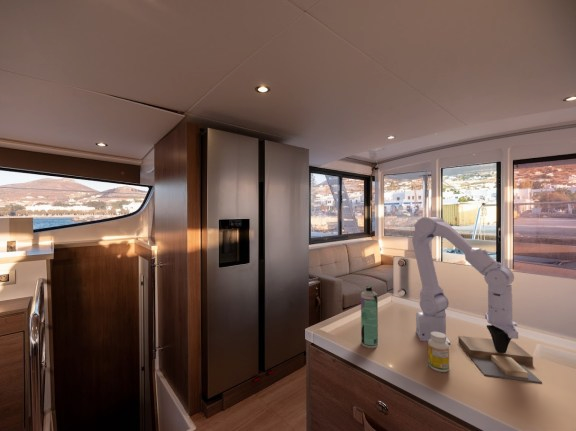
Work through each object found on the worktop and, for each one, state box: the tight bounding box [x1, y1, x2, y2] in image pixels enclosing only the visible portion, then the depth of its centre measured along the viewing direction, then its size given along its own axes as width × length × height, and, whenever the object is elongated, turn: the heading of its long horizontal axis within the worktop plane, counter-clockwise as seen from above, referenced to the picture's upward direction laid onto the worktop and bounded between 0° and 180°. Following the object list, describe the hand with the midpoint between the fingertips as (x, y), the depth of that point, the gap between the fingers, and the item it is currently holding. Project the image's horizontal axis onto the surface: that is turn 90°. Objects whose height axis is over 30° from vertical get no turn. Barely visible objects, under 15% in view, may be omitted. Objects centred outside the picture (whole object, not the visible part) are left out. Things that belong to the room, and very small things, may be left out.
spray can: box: [360, 285, 379, 349], centre depth 89 cm, size 6×6×20 cm
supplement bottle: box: [427, 332, 450, 373], centre depth 75 cm, size 5×5×10 cm
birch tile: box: [491, 355, 528, 378], centre depth 74 cm, size 5×8×2 cm, turn 165°
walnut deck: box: [457, 335, 534, 366], centre depth 82 cm, size 16×10×2 cm, turn 74°
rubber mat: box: [470, 357, 543, 384], centre depth 74 cm, size 13×9×1 cm
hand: (500, 351), depth 78 cm, fingers closed
